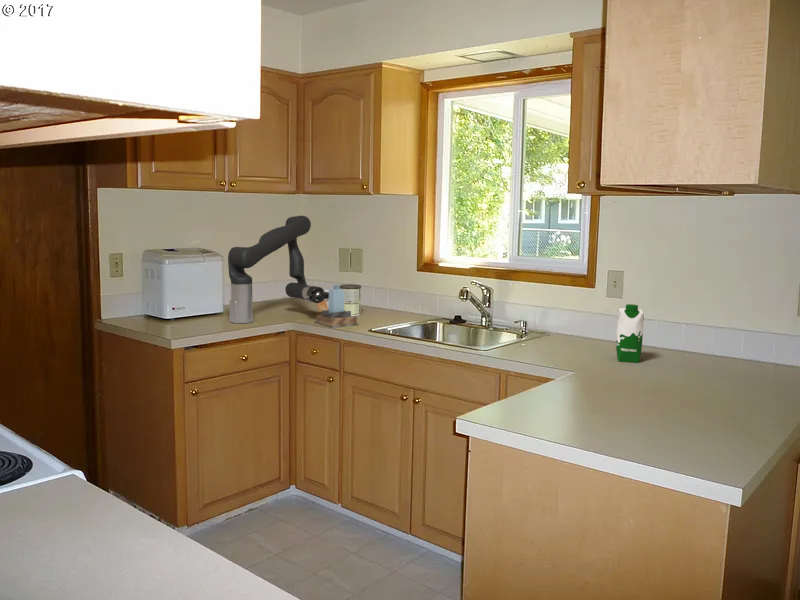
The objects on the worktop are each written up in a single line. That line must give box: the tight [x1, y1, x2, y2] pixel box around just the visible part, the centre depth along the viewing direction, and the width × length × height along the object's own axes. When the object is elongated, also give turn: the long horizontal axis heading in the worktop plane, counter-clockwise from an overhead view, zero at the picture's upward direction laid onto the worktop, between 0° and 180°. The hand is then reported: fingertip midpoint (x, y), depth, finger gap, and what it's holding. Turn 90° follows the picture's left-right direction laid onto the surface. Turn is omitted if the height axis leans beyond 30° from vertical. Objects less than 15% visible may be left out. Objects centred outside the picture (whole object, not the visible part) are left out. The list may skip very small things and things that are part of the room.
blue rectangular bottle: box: [328, 284, 344, 314], centre depth 306 cm, size 5×4×14 cm
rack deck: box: [313, 310, 360, 329], centre depth 307 cm, size 14×15×6 cm
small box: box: [317, 289, 329, 313], centre depth 339 cm, size 8×6×10 cm
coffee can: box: [339, 283, 362, 317], centre depth 332 cm, size 10×10×14 cm
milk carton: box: [615, 303, 645, 364], centre depth 244 cm, size 9×9×20 cm
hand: (331, 298), depth 309 cm, fingers open, 8 cm apart
